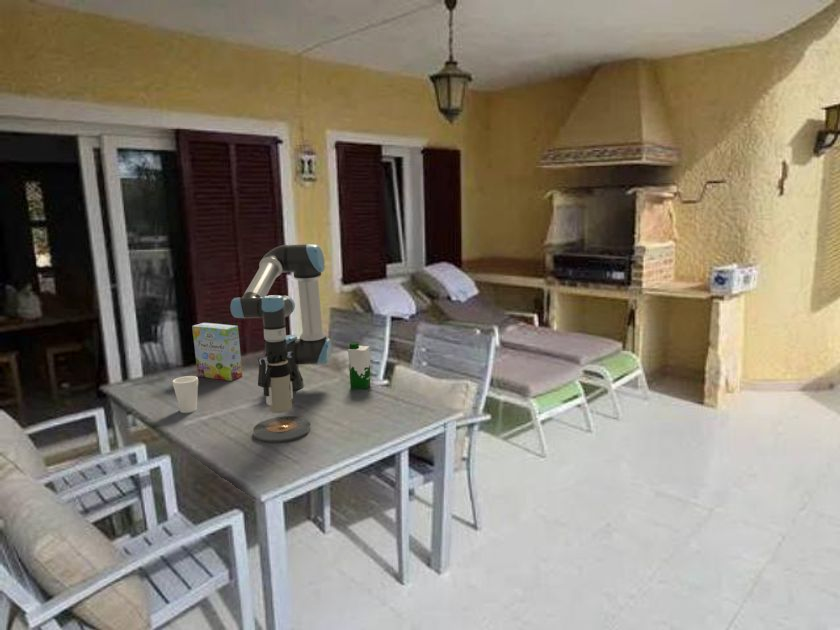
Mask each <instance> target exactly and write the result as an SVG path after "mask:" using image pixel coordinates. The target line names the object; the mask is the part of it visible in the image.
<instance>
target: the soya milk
mask: <svg viewBox="0 0 840 630" xmlns="http://www.w3.org/2000/svg"><path fill="white" fill-rule="evenodd" d="M347 353H348V354H347V355H348V367H349V369H348V371H349V384H350V389H356V390H358V389H359V390H366V389H368V387H369V386H370V385H371V354H370V346H369V345H368V346H367V345H360V344H359V342H349V348H348V349H347Z"/></svg>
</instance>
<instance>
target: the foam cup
mask: <svg viewBox="0 0 840 630" xmlns="http://www.w3.org/2000/svg"><path fill="white" fill-rule="evenodd" d="M198 377H199V376H195V375H188V376H187V375H186V376H184V375H183V376H179V377H177V378H176V377H175V378H174V379H173V380H172V387H173V389H174V393H175V398H176V400H177V405H178V408H179V411H180V413H181V414H182V413H183V414H188V413H193V412H196V411H197V410H198V390H199V389H198V388H199V378H198Z"/></svg>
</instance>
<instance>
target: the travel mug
mask: <svg viewBox="0 0 840 630" xmlns="http://www.w3.org/2000/svg"><path fill="white" fill-rule="evenodd" d="M285 360H286V359H285ZM266 362H267V363H266V366H267V365H268V367H269V368H271V367H273V369H272V370H271V373H270V375H271V382H270V385H269V387H271V390H272V403H273V405H268V410H269V412H272V413H274V414H282V413H286V412H289V411H290V410H292V408H293V403H292V399H291V386H290V372H289V368H288V366H287V363H288V360H286V361H281V362H277V363H275V364H273V363H272V364H271V363H269V362H268V361H266Z"/></svg>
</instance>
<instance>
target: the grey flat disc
mask: <svg viewBox="0 0 840 630" xmlns="http://www.w3.org/2000/svg"><path fill="white" fill-rule="evenodd" d="M252 431H253V438H255V440H257V441H259V442H262V443H268V444H281V443H287V442H292V441H295V440H299V439H301V438H303V437H305V436H306V435H308V434H309V433H310V431H311V423H310V420H308V419H306V418H305V417H300V416H295V415H290V416H289V415H287V416H284V415H283V416H277V417H276V416H275V417H273V418H272V417H271V418H268V419H264V420H263V421H260V422H259V423H257V424H256V425H255V426H254V427H253V430H252Z"/></svg>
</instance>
